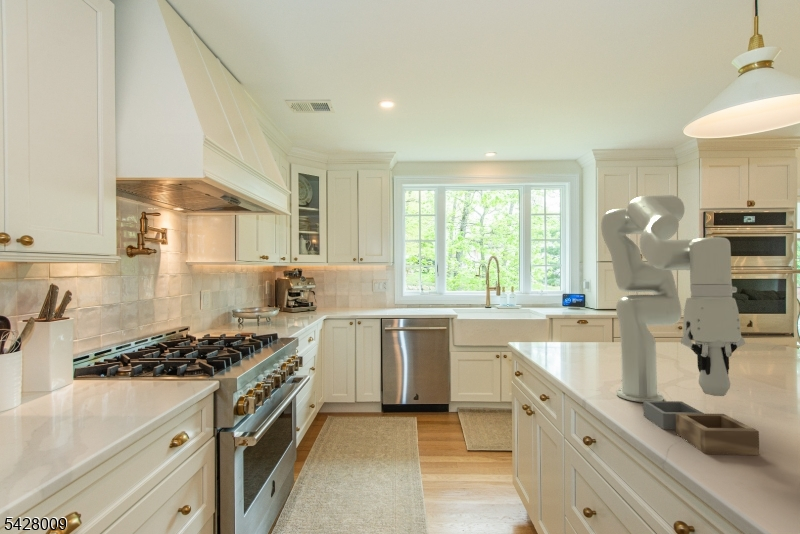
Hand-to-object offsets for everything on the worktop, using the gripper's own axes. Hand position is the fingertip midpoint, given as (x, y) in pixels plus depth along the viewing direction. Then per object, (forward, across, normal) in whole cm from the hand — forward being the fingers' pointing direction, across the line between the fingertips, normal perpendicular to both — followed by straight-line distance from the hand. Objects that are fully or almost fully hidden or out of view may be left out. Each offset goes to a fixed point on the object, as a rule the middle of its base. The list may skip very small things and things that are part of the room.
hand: (713, 372), depth 93 cm
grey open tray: (+16, +2, -13) cm, 21 cm away
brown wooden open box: (+16, 0, 0) cm, 16 cm away
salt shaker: (+5, 0, 0) cm, 5 cm away
